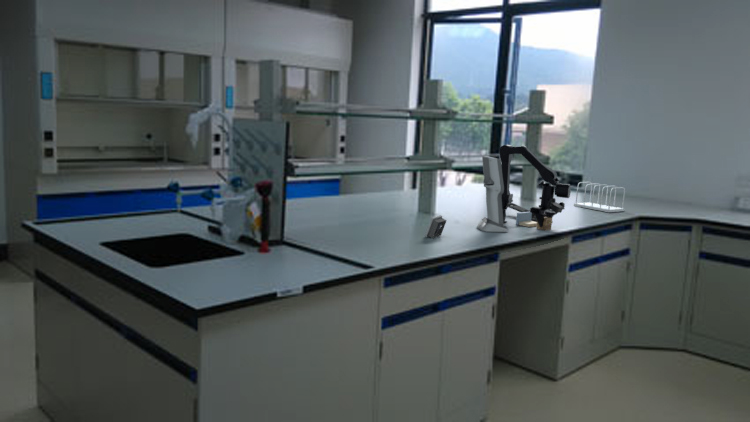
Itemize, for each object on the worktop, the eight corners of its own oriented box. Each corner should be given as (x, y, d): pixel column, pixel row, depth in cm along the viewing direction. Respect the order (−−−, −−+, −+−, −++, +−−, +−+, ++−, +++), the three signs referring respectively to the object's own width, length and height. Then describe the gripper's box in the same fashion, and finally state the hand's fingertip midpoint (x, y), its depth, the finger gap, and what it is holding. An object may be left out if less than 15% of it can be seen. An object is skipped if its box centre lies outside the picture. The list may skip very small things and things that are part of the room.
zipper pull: (512, 202, 336) (548, 210, 316) (511, 214, 337) (546, 222, 317) (501, 203, 331) (536, 211, 311) (500, 214, 332) (535, 223, 312)
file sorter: (624, 211, 375) (627, 186, 372) (609, 213, 364) (612, 187, 362) (588, 204, 394) (591, 181, 391) (573, 206, 384) (576, 182, 381)
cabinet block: (552, 230, 297) (554, 218, 296) (546, 230, 294) (548, 218, 293) (542, 227, 302) (543, 215, 301) (536, 228, 299) (537, 216, 298)
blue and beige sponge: (540, 225, 307) (541, 214, 306) (527, 227, 300) (528, 215, 299) (528, 222, 313) (530, 211, 312) (515, 224, 306) (517, 212, 305)
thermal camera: (473, 226, 292) (480, 155, 286) (498, 227, 295) (505, 156, 289) (483, 232, 281) (490, 157, 275) (508, 232, 284) (516, 158, 278)
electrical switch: (434, 234, 270) (437, 214, 267) (444, 237, 267) (447, 217, 265) (424, 237, 262) (427, 216, 260) (434, 240, 259) (438, 219, 257)
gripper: (550, 199, 284) (547, 231, 286) (572, 197, 295) (568, 228, 298) (531, 195, 292) (527, 226, 295) (553, 193, 304) (549, 223, 307)
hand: (544, 226), depth 298 cm, fingers closed on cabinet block, 5 cm apart
